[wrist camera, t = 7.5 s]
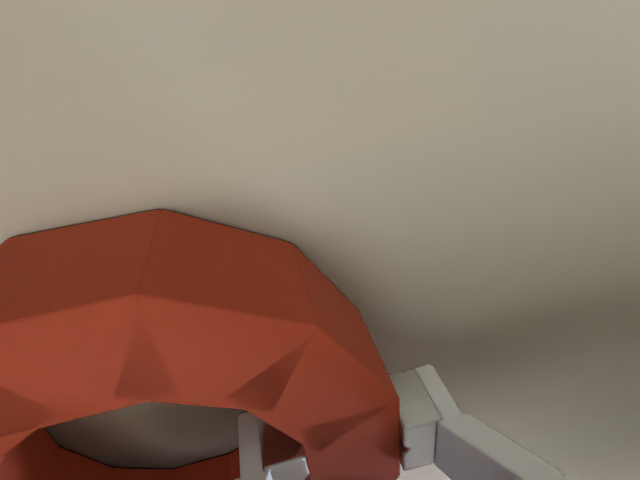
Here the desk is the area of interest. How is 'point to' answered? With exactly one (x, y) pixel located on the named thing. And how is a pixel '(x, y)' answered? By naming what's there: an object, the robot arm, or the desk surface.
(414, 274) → the desk surface
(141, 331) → the ring
